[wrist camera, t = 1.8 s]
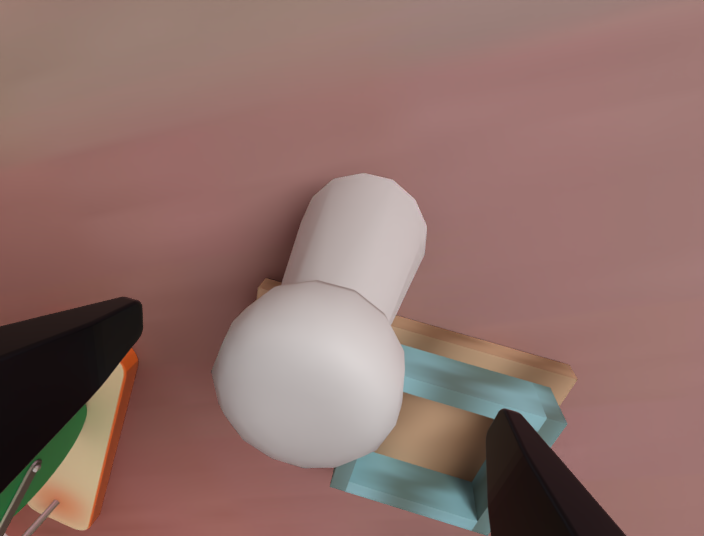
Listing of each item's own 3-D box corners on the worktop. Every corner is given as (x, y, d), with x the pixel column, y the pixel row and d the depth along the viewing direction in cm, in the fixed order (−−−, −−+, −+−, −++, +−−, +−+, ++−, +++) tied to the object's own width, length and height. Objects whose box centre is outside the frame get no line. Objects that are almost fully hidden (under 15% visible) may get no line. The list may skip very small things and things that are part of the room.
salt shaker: (294, 226, 20) (117, 409, 8) (359, 139, 17) (242, 220, 6) (376, 291, 21) (325, 542, 9) (450, 216, 18) (510, 427, 6)
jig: (568, 364, 21) (598, 415, 17) (486, 491, 26) (496, 549, 22) (265, 278, 21) (238, 310, 18) (246, 418, 27) (222, 463, 23)
